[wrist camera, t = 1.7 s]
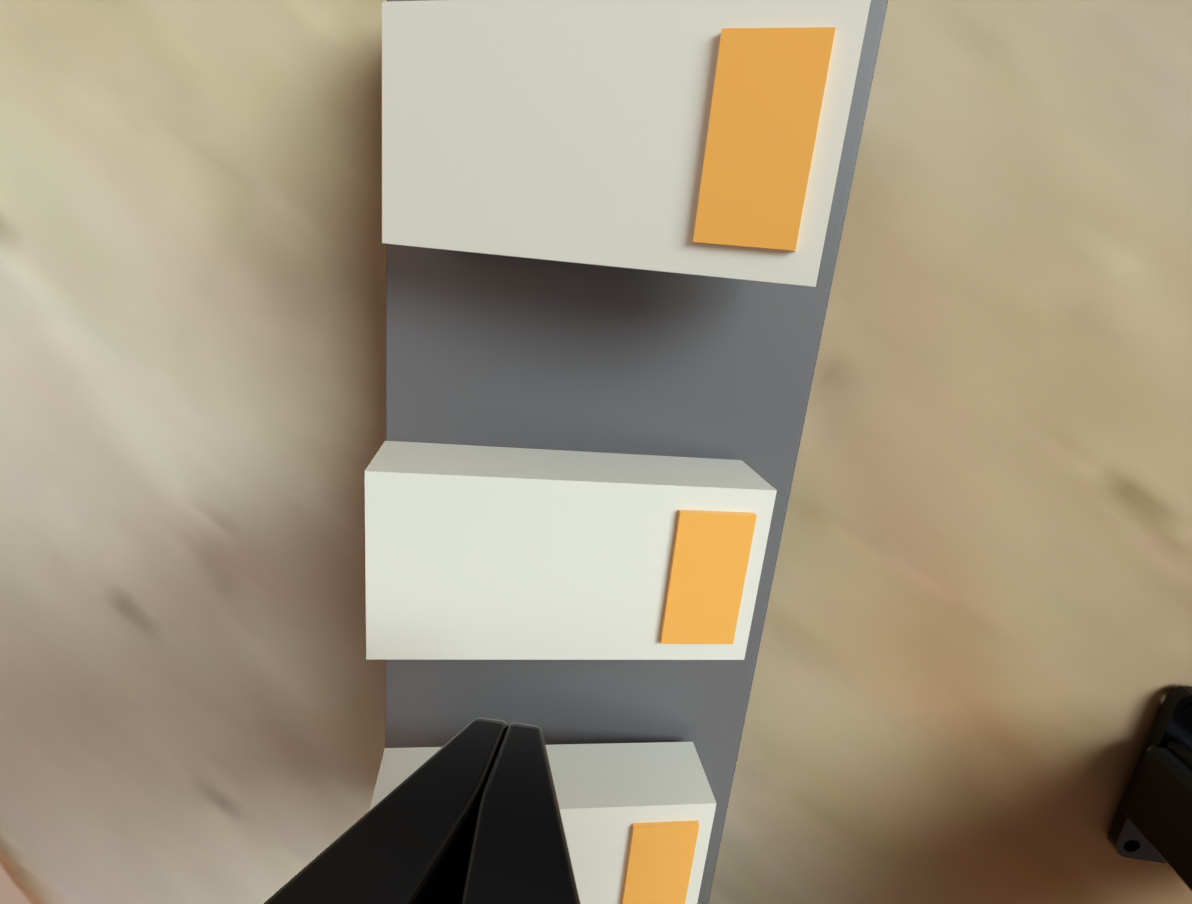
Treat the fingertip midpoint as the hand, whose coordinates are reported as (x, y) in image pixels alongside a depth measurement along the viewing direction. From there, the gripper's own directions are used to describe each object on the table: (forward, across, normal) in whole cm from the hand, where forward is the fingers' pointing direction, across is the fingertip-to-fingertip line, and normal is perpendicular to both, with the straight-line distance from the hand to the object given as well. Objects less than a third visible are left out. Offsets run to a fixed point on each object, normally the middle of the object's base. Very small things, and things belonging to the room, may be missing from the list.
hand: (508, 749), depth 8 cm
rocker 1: (+6, 0, -8) cm, 10 cm away
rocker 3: (+6, 0, +8) cm, 10 cm away
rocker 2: (+6, 0, 0) cm, 6 cm away
